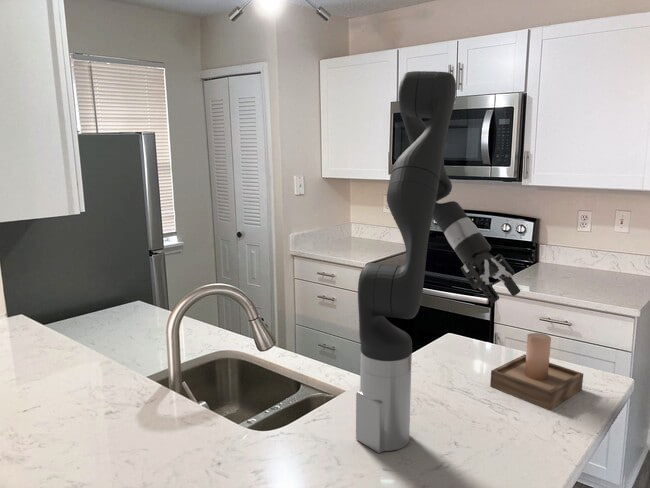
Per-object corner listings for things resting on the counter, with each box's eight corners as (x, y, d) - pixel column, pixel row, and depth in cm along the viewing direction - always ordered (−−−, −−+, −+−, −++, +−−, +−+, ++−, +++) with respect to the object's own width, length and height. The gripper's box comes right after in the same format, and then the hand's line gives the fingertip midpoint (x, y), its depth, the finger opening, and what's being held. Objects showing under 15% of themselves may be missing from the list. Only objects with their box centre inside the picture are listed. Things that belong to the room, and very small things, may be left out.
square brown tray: (550, 410, 109) (551, 393, 108) (490, 386, 120) (491, 370, 119) (581, 389, 118) (583, 373, 117) (523, 369, 129) (524, 354, 128)
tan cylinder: (540, 382, 115) (543, 342, 113) (520, 374, 119) (523, 336, 117) (552, 375, 118) (555, 337, 116) (531, 368, 122) (534, 331, 120)
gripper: (458, 235, 121) (500, 294, 115) (494, 228, 130) (534, 283, 123) (438, 254, 126) (477, 312, 120) (474, 246, 135) (512, 300, 129)
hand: (506, 297), depth 122 cm, fingers open, 8 cm apart
